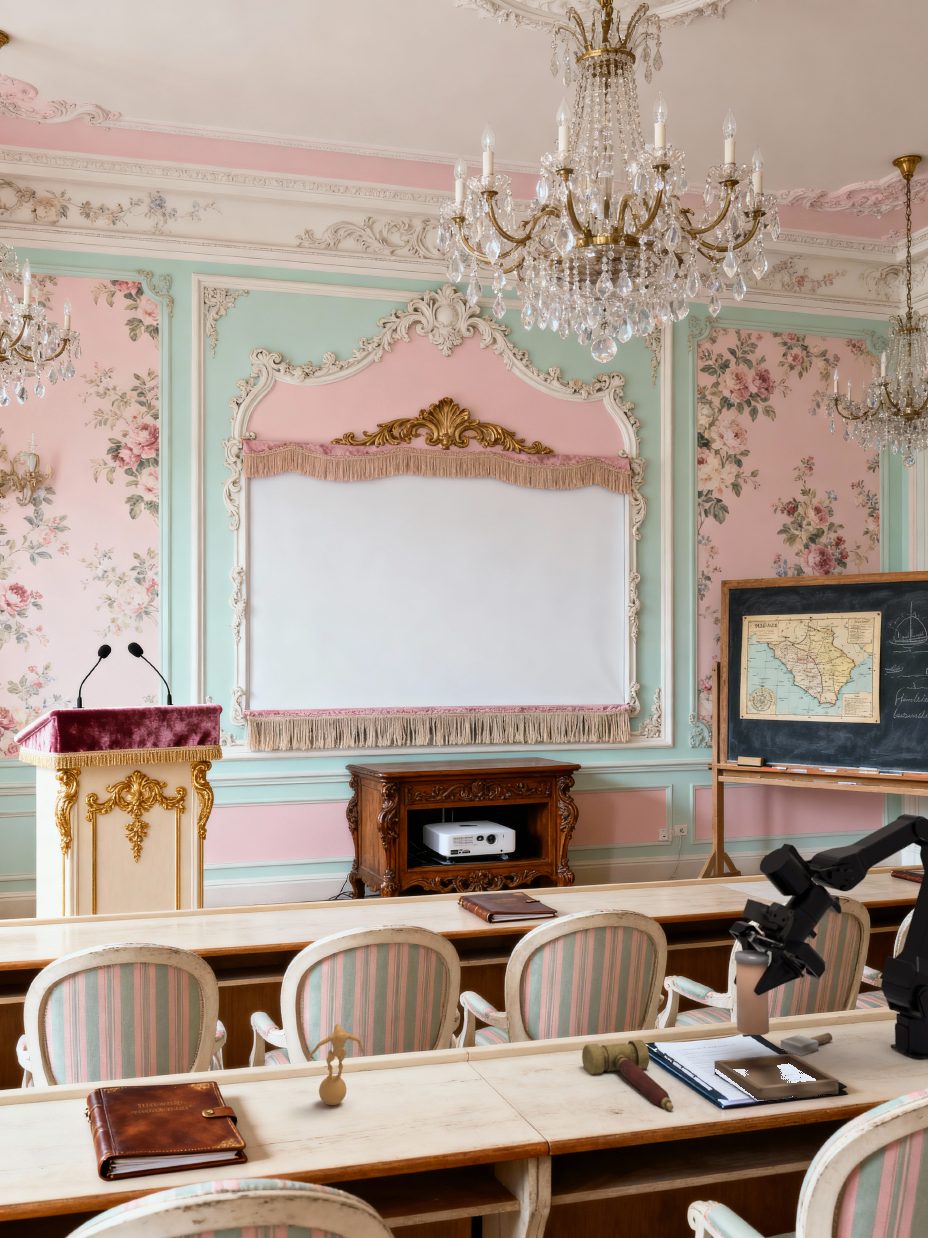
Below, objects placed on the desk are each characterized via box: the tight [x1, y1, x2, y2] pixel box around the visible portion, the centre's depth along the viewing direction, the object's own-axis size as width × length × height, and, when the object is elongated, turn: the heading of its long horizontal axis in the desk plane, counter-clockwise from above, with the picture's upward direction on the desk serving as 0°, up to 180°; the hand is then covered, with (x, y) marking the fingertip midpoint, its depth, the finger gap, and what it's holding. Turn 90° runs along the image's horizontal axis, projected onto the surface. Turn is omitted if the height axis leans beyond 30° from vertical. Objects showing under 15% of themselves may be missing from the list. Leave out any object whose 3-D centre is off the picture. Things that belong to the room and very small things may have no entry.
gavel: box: [581, 1039, 674, 1111], centre depth 162 cm, size 21×5×10 cm
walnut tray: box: [714, 1053, 839, 1101], centre depth 164 cm, size 14×13×2 cm
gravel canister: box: [734, 949, 770, 1036], centre depth 169 cm, size 5×5×12 cm
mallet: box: [780, 1032, 833, 1057], centre depth 182 cm, size 11×4×2 cm, turn 127°
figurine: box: [307, 1023, 365, 1106], centre depth 152 cm, size 8×6×12 cm
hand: (745, 989), depth 169 cm, fingers closed on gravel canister, 5 cm apart
